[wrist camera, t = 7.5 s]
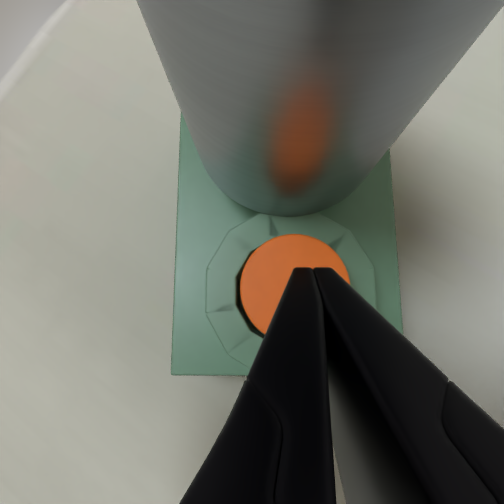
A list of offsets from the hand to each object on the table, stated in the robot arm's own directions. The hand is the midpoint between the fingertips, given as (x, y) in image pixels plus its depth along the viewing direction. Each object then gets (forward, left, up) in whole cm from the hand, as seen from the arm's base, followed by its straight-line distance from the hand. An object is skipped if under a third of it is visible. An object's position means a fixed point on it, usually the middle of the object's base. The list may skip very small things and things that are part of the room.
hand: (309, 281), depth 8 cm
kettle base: (+2, +3, -12) cm, 12 cm away
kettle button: (0, 0, -5) cm, 6 cm away
